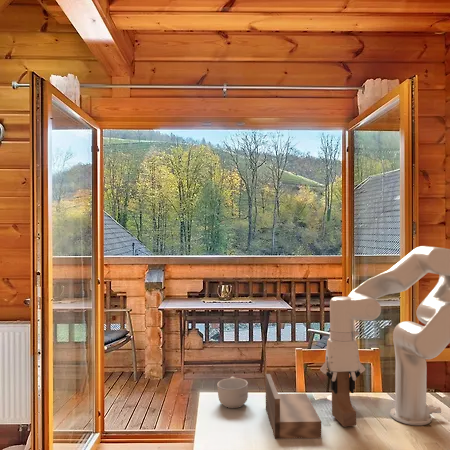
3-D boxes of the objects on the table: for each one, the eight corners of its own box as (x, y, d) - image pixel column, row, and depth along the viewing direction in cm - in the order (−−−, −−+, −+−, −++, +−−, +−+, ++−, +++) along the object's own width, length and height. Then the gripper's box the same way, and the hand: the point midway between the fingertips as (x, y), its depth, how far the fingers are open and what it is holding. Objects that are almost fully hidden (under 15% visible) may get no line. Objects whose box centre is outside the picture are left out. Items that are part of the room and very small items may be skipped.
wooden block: (356, 425, 144) (356, 368, 144) (343, 427, 144) (342, 369, 143) (344, 413, 153) (343, 360, 153) (331, 415, 152) (330, 361, 152)
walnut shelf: (305, 407, 160) (305, 373, 160) (321, 438, 138) (321, 398, 138) (265, 408, 160) (265, 373, 159) (274, 438, 138) (275, 398, 137)
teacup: (245, 412, 156) (245, 389, 156) (214, 409, 158) (214, 386, 158) (251, 397, 170) (251, 375, 170) (222, 394, 172) (222, 373, 172)
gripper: (364, 331, 152) (365, 386, 152) (313, 333, 151) (314, 388, 152) (372, 337, 145) (373, 395, 145) (318, 339, 144) (319, 397, 144)
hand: (343, 391), depth 148 cm, fingers closed on wooden block, 4 cm apart
